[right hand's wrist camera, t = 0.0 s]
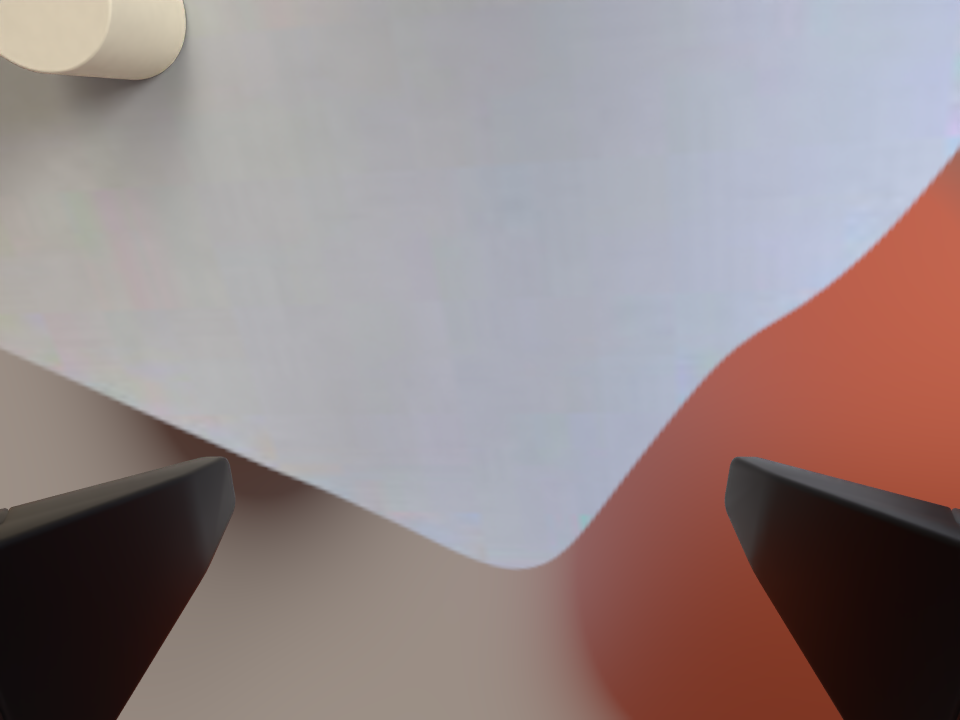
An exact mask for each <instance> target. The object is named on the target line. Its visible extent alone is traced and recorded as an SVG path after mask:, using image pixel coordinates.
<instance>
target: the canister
mask: <svg viewBox="0 0 960 720" xmlns="http://www.w3.org/2000/svg"><path fill="white" fill-rule="evenodd" d="M185 31H186V17H185V9H184V4H183V1H182V0H0V55H1V56H2V57H4V58H5V59H7V60H8V61H10V62H12V63H14V64H16V65H18V66H20V67H22V68H25V69H28V70H30V71H34V72H39V73H46V74H60V75H73V76H87V77H101V78H115V79H129V80H141V79H147V78H151V77H153V76H156V75H158V74H160V73H161V72H163V71H164V70H166V69H167V68H168V67H169V66H170V65H171V64H172V63H173V62H174V61H175V59H176V57H177V56H178V54H179V52H180V50H181V48H182V45H183V41H184V37H185Z"/></svg>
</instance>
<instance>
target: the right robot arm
mask: <svg viewBox="0 0 960 720" xmlns="http://www.w3.org/2000/svg"><path fill="white" fill-rule="evenodd" d="M234 507H235V493H234V488H233V481H232V475H231V470H230V465H229V462H228V460H227V459H226V458H224V457H202V458H198V459H194V460H190V461H186V462H183V463H179V464H175V465H171V466H167V467H163V468H160V469H156V470H152V471H148V472H144V473H141V474H137V475H133V476H129V477H125V478H121V479H118V480H114V481H110V482H106V483H102V484H99V485H95V486H91V487H87V488H83V489H79V490H76V491H72V492H68V493H64V494H60V495H57V496H53V497H49V498H45V499H41V500H37V501H33V502H30V503H26V504H22V505H18V506H14V507H11V508H10V509H9V511H8V509H6V508H4V509H0V720H117V718H118V716H119V715H120V713H121V711H122V710H123V708H124V706H125V705H126V703H127V701H128V700H129V698H130V697H131V695H132V693H133V692H134V690H135V688H136V687H137V685H138V683H139V682H140V680H141V679H142V677H143V675H144V674H145V672H146V670H147V669H148V667H149V665H150V664H151V662H152V661H153V659H154V657H155V656H156V654H157V652H158V651H159V649H160V647H161V646H162V644H163V643H164V641H165V639H166V638H167V636H168V634H169V633H170V631H171V629H172V628H173V626H174V624H175V623H176V621H177V619H178V618H179V616H180V615H181V613H182V611H183V610H184V608H185V606H186V605H187V603H188V601H189V600H190V598H191V596H192V595H193V593H194V592H195V590H196V588H197V587H198V585H199V583H200V582H201V580H202V578H203V577H204V575H205V573H206V571H207V569H208V567H209V565H210V563H211V561H212V559H213V557H214V554H215V552H216V550H217V548H218V545H219V543H220V541H221V539H222V536H223V534H224V532H225V530H226V527H227V525H228V523H229V521H230V518H231V516H232V514H233V511H234ZM725 507H726V511H727V514H728V516H729V518H730V521H731V523H732V525H733V527H734V530H735V532H736V534H737V536H738V539H739V541H740V543H741V545H742V548H743V550H744V552H745V554H746V557H747V559H748V561H749V563H750V565H751V567H752V569H753V571H754V573H755V575H756V577H757V578H758V580H759V582H760V583H761V585H762V587H763V588H764V590H765V592H766V593H767V595H768V597H769V598H770V600H771V601H772V603H773V605H774V606H775V608H776V610H777V611H778V613H779V615H780V616H781V618H782V620H783V621H784V623H785V624H786V626H787V628H788V629H789V631H790V633H791V634H792V636H793V638H794V639H795V641H796V642H797V644H798V646H799V647H800V649H801V651H802V652H803V654H804V656H805V657H806V659H807V660H808V662H809V664H810V665H811V667H812V669H813V670H814V672H815V674H816V675H817V677H818V679H819V680H820V682H821V683H822V685H823V687H824V688H825V690H826V692H827V693H828V695H829V697H830V698H831V700H832V702H833V703H834V705H835V706H836V708H837V710H838V711H839V713H840V715H841V716H842V718H843V720H960V509H957V508H954V509H952V511H951V509H950V508H949V507H945V506H942V505H938V504H934V503H930V502H927V501H923V500H919V499H915V498H911V497H907V496H904V495H900V494H896V493H892V492H888V491H885V490H881V489H877V488H873V487H869V486H865V485H862V484H858V483H854V482H850V481H846V480H842V479H839V478H835V477H831V476H827V475H823V474H820V473H815V472H812V471H808V470H804V469H800V468H796V467H793V466H789V465H785V464H781V463H778V462H774V461H770V460H766V459H762V458H758V457H736V458H734V459H733V460H732V462H731V465H730V470H729V475H728V481H727V488H726V493H725Z"/></svg>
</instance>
